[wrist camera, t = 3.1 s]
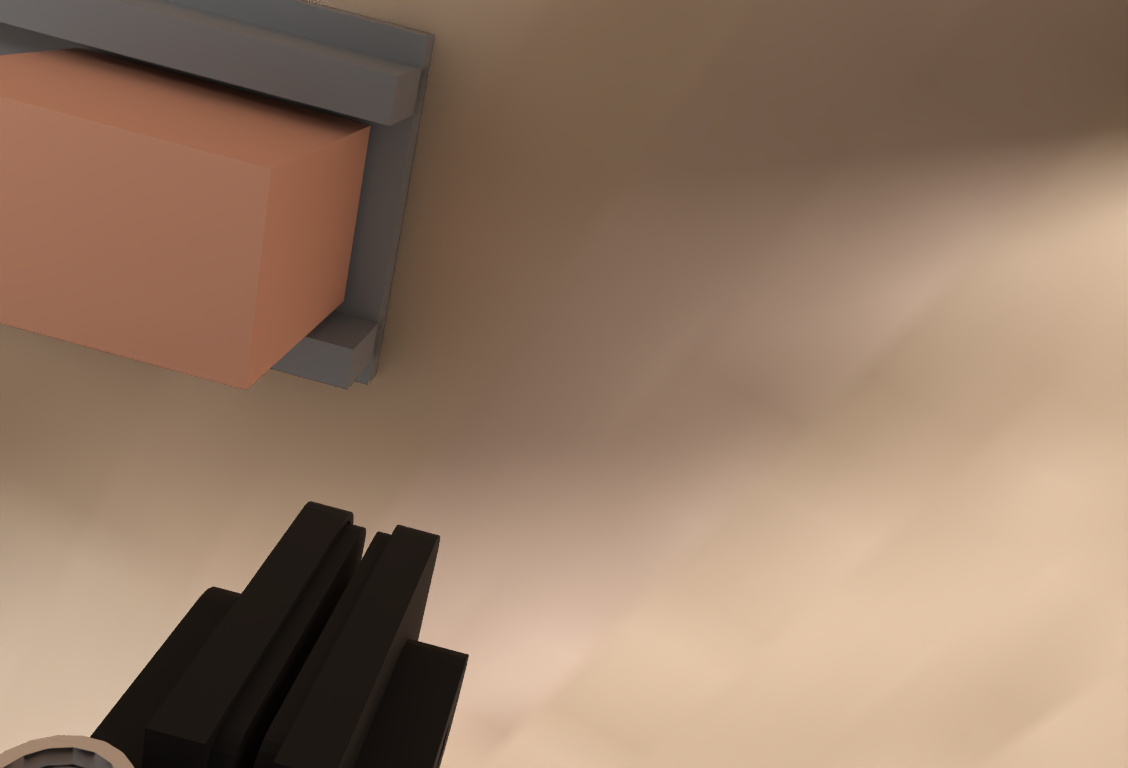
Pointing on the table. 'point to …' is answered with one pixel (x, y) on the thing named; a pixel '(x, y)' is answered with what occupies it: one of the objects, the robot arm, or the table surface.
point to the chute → (291, 75)
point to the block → (170, 213)
